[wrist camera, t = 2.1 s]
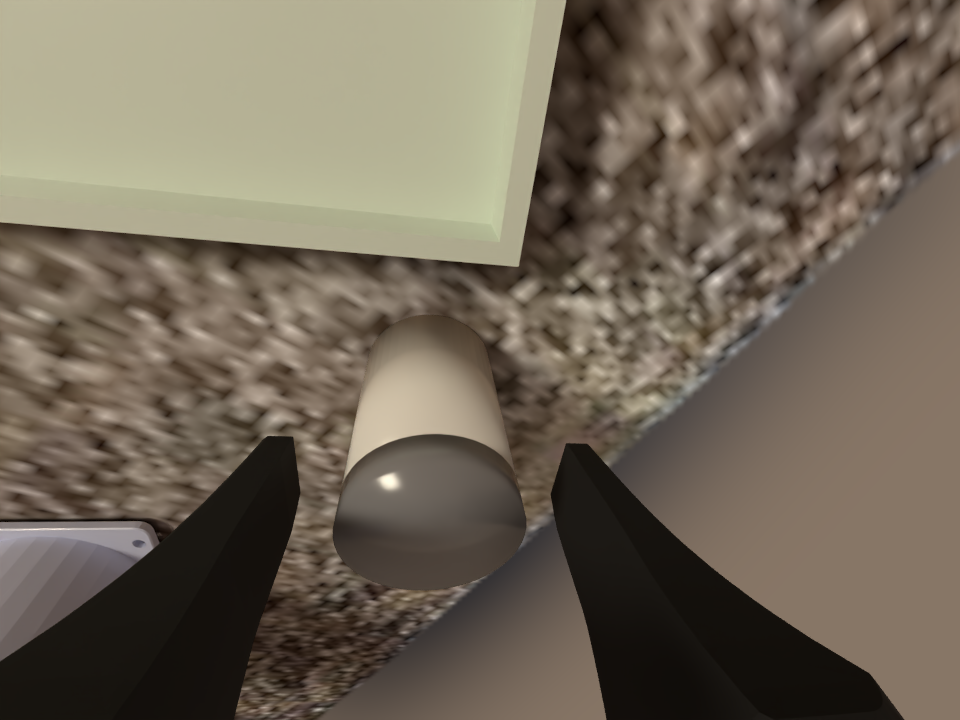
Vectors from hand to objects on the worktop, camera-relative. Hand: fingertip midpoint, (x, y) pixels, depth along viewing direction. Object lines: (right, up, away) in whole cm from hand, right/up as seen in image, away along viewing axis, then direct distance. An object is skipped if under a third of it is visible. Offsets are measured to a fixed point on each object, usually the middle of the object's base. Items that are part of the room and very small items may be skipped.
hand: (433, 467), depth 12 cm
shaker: (-1, +3, +4) cm, 5 cm away
